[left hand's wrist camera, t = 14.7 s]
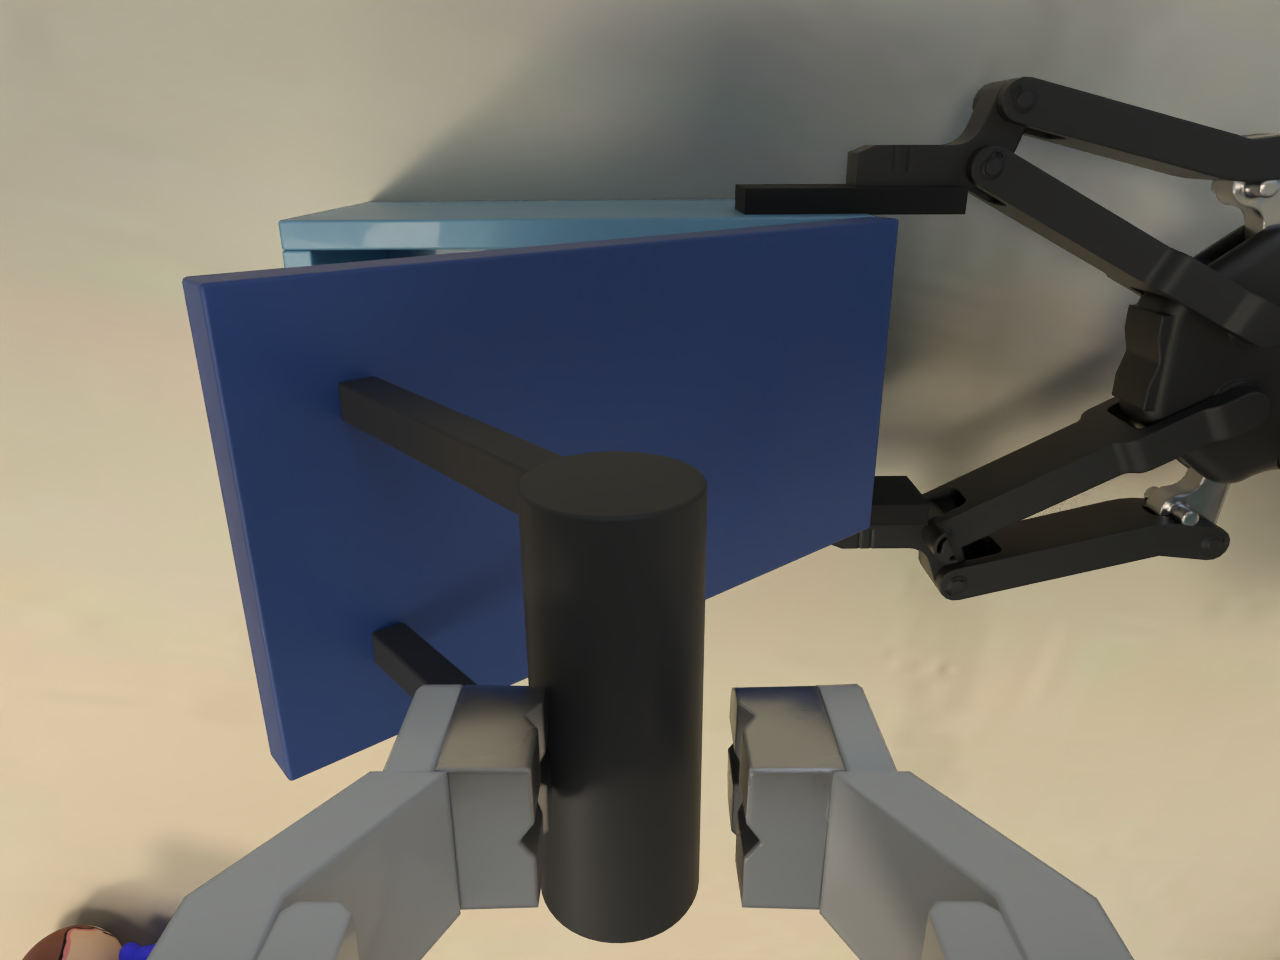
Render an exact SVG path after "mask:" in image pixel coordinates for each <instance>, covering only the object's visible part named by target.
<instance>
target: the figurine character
mask: <svg viewBox="0 0 1280 960" xmlns="http://www.w3.org/2000/svg"><path fill="white" fill-rule="evenodd" d="M155 945H156V944H151V945H146V946H140V945H139V944H138V943H135V942H129V943H126V944H125V945H123V946H121V944H120V943H119V941H118V940H117V939H116V938H115V937H114V936H113V935H112V934H111V933H109V932H108V931H106V930H104V929H102V928H100V927H96V926H91V925H76V926H70V927H66V928H63V929H60V930H58V931H56V932H54V933H52V934H50V935H48V936H47V937H45V938H44V939H42V940H41V941H40V942H38V943H37V944H36V945H35V946H34V947H33V948H32V949H31V950H30V951H29V952H28V953H27V954H26V956H25V957H24V958H23V960H146V959H147V958H148V956H149V954H150V953H151V951H152V949H153V948H154V946H155Z"/></svg>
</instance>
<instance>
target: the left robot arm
mask: <svg viewBox="0 0 1280 960" xmlns="http://www.w3.org/2000/svg"><path fill="white" fill-rule="evenodd" d="M730 724H731V731H732V738H733V744H732V745H731V746H730V748H729V749H728V803H729V814H730V822H731V831H732V832H733V833H734V834H736V859H735V861H736V868H737V874H738V881H739V888H740V895H741V902H742V907H749V908H784V909H820V914H821V915H822V916H823V918H824V919H825V920H826V921H827V922H828V923H829V925H830V926H831V927H832V928H833V929H834V930H835V931H836V933H837V934H838V935H839V936H840V937H841V938H842V940H843V941H844V942H845V943H846V944H847V945H848V946H849V948H850V949H851V950H852V951H853V952H854V953H855V955H856V956H857V957H858V958H859V959H860V960H1134V959H1133V957H1132V955H1131V954H1130V952H1129V951H1128V949H1127V947H1126V946H1125V944H1124V942H1123V941H1122V939H1121V937H1120V936H1119V934H1118V932H1117V931H1116V929H1115V927H1114V926H1113V924H1112V923H1111V921H1110V919H1109V918H1108V916H1107V914H1106V913H1105V911H1104V909H1103V908H1102V906H1101V904H1100V903H1099V901H1098V899H1097V898H1095V897H1094V896H1093V895H1091V894H1090V893H1088V892H1087V891H1085V890H1084V889H1082V888H1081V887H1079V886H1078V885H1076V884H1075V883H1073V882H1072V881H1070V880H1069V879H1067V878H1066V877H1065V876H1063V875H1062V874H1060V873H1059V872H1057V871H1056V870H1054V869H1053V868H1051V867H1050V866H1048V865H1047V864H1045V863H1044V862H1042V861H1041V860H1039V859H1038V858H1037V857H1035V856H1034V855H1032V854H1031V853H1029V852H1028V851H1026V850H1025V849H1023V848H1022V847H1020V846H1019V845H1017V844H1016V843H1014V842H1013V841H1011V840H1010V839H1009V838H1007V837H1006V836H1004V835H1003V834H1001V833H1000V832H998V831H997V830H995V829H994V828H992V827H991V826H989V825H988V824H986V823H985V822H983V821H982V820H981V819H979V818H978V817H976V816H975V815H973V814H972V813H970V812H969V811H967V810H966V809H964V808H963V807H961V806H960V805H958V804H957V803H955V802H954V801H953V800H951V799H950V798H948V797H947V796H945V795H944V794H942V793H941V792H939V791H938V790H936V789H935V788H933V787H932V786H930V785H929V784H927V783H926V782H925V781H923V780H922V779H920V778H919V777H917V776H916V775H914V774H913V773H911V772H900V771H897V769H896V767H895V764H894V762H893V760H892V757H891V755H890V753H889V750H888V748H887V745H886V743H885V741H884V738H883V736H882V734H881V731H880V729H879V726H878V724H877V722H876V719H875V717H874V715H873V712H872V710H871V707H870V705H869V703H868V700H867V698H866V696H865V693H864V691H863V689H862V687H860V686H859V685H857V684H842V685H816V686H793V687H743V688H732V692H731V700H730ZM549 725H550V718H549V701H548V687H547V686H500V685H465V686H463V685H461V684H455V685H422V686H421V687H420V688H418V689H417V691H416V693H415V695H414V697H413V700H412V702H411V705H410V707H409V709H408V712H407V714H406V717H405V719H404V721H403V724H402V726H401V729H400V731H399V733H398V736H397V738H396V741H395V743H394V745H393V748H392V750H391V753H390V755H389V757H388V760H387V762H386V765H385V767H384V769H383V771H380V772H369V773H367V774H366V775H365V776H363V777H362V778H360V779H359V780H357V781H356V782H354V783H353V784H351V785H350V786H348V787H347V788H345V789H344V790H342V791H341V792H339V793H338V794H336V795H335V796H333V797H332V798H330V799H329V800H328V801H326V802H325V803H323V804H322V805H320V806H319V807H317V808H316V809H314V810H313V811H311V812H310V813H308V814H307V815H305V816H304V817H302V818H301V819H299V820H298V821H296V822H295V823H293V824H292V825H291V826H289V827H288V828H286V829H285V830H283V831H282V832H280V833H279V834H277V835H276V836H274V837H273V838H271V839H270V840H268V841H267V842H265V843H264V844H262V845H261V846H259V847H258V848H256V849H255V850H254V851H252V852H251V853H249V854H248V855H246V856H245V857H243V858H242V859H240V860H239V861H237V862H236V863H234V864H233V865H231V866H230V867H228V868H227V869H225V870H224V871H222V872H221V873H219V874H218V875H217V876H215V877H214V878H212V879H211V880H209V881H208V882H206V883H205V884H203V885H202V886H200V887H199V888H197V889H196V890H194V891H193V892H191V893H190V894H188V895H187V896H185V897H184V899H183V901H182V902H181V904H180V905H179V907H178V909H177V910H176V912H175V914H174V915H173V917H172V919H171V920H170V922H169V923H168V925H167V927H166V928H165V930H164V932H163V933H162V935H161V936H160V938H159V940H158V941H157V943H156V945H155V946H154V948H153V949H152V951H151V953H150V954H149V956H148V958H147V959H146V960H421V959H422V958H423V956H424V955H425V954H426V953H427V952H428V951H429V950H430V948H431V947H432V946H433V945H434V944H435V943H436V941H437V940H438V939H439V938H440V937H441V936H442V935H443V933H444V932H445V931H446V930H447V929H448V928H449V927H450V925H451V924H452V923H453V922H454V921H455V920H456V919H457V917H458V916H459V915H460V909H495V908H529V907H538V904H539V897H540V890H541V883H542V876H543V869H544V861H545V856H544V835H545V834H546V833H547V832H548V831H549V823H550V815H551V802H552V763H551V753H550V751H549V749H548V747H547V739H548V732H549Z"/></svg>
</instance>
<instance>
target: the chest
mask: <svg viewBox="0 0 1280 960" xmlns="http://www.w3.org/2000/svg"><path fill="white" fill-rule="evenodd" d="M861 217H876V216H873V215H870V214H765V215H744V214H743V213H741V212H740V211H738V210H736V209H735V199H676V200H540V201H403V202H365V203H361V204H356V205H351V206H347V207H342V208H337V209H332V210H328V211H323V212H318V213H313V214H308V215H304V216H299V217H294V218H289V219H285V220H280V221H279V230H280V237H281V244H282V248H283V250H285V251H283V259H284V266H285V268H291V267H302V266H314V265H325V264H336V263H348V262H359V261H371V260H382V259H393V258H405V257H416V256H428V255H439V254H450V253H462V252H473V251H485V250H496V249H507V248H519V247H530V246H542V245H553V244H564V243H576V242H587V241H599V240H610V239H621V238H633V237H644V236H656V235H667V234H678V233H690V232H701V231H713V230H724V229H735V228H747V227H758V226H769V225H781V224H792V223H804V222H815V221H826V220H838V219H849V218H861Z"/></svg>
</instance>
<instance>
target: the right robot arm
mask: <svg viewBox="0 0 1280 960" xmlns="http://www.w3.org/2000/svg"><path fill="white" fill-rule="evenodd" d="M1022 135H1027V136H1030V137H1034V138H1038V139H1041V140H1045V141H1049V142H1052V143H1056V144H1059V145H1063V146H1067V147H1070V148H1074V149H1078V150H1081V151H1085V152H1089V153H1092V154H1096V155H1100V156H1103V157H1107V158H1111V159H1114V160H1118V161H1122V162H1125V163H1129V164H1132V165H1136V166H1140V167H1143V168H1147V169H1151V170H1154V171H1158V172H1162V173H1165V174H1169V175H1173V176H1178V177H1183V178H1191V179H1205V180H1213V181H1212V184H1211V189H1212V191H1213V192H1214V193H1215V194H1216V197H1217V199H1218V200H1219V201H1220V202H1221V203H1223V204H1224V205H1230V206H1235V207H1237V208H1239V209H1240V210H1241V211H1242V212H1243V214H1244V217H1245V225H1243V226H1241V227H1239V228H1237V229H1236V230H1234V231H1233V232H1231V233H1230V234H1228V235H1226V236H1225V237H1223V238H1222V239H1220V240H1219V241H1217V242H1216V243H1214V244H1213V245H1211V246H1209V247H1208V248H1206V249H1205V250H1203V251H1202V252H1200V253H1199V254H1197V255H1195V256H1194V257H1191V256H1189V255H1187V254H1185V253H1182V252H1180V251H1177V250H1174V249H1172V248H1170V247H1168V246H1167V245H1165V244H1163V243H1162V242H1160V241H1158V240H1157V239H1155V238H1153V237H1152V236H1150V235H1148V234H1147V233H1145V232H1143V231H1142V230H1140V229H1139V228H1137V227H1135V226H1134V225H1132V224H1130V223H1129V222H1127V221H1125V220H1124V219H1122V218H1120V217H1119V216H1117V215H1115V214H1114V213H1112V212H1110V211H1109V210H1107V209H1105V208H1104V207H1102V206H1100V205H1099V204H1097V203H1095V202H1094V201H1092V200H1090V199H1089V198H1087V197H1085V196H1084V195H1082V194H1080V193H1079V192H1077V191H1075V190H1074V189H1072V188H1070V187H1069V186H1067V185H1065V184H1064V183H1062V182H1061V181H1059V180H1057V179H1056V178H1054V177H1052V176H1051V175H1049V174H1047V173H1046V172H1044V171H1042V170H1041V169H1039V168H1037V167H1036V166H1034V165H1032V164H1031V163H1029V162H1027V161H1026V160H1024V159H1022V158H1021V157H1019V156H1017V155H1016V154H1014V152H1015V150H1016V148H1017V146H1018V144H1019V141H1020V139H1021V137H1022ZM968 193H970V194H972V195H973V196H975V197H977V198H978V199H980V200H982V201H984V202H985V203H987V204H989V205H990V206H992V207H994V208H995V209H997V210H999V211H1001V212H1002V213H1004V214H1006V215H1007V216H1009V217H1011V218H1012V219H1014V220H1016V221H1018V222H1019V223H1021V224H1023V225H1024V226H1026V227H1028V228H1030V229H1031V230H1033V231H1035V232H1036V233H1038V234H1040V235H1041V236H1043V237H1045V238H1047V239H1048V240H1050V241H1052V242H1053V243H1055V244H1057V245H1058V246H1060V247H1062V248H1064V249H1065V250H1067V251H1069V252H1070V253H1072V254H1074V255H1076V256H1077V257H1079V258H1081V259H1082V260H1084V261H1086V262H1087V263H1089V264H1091V265H1093V266H1094V267H1096V268H1098V269H1099V270H1101V271H1103V272H1104V273H1106V274H1107V276H1108V277H1109V278H1111V279H1112V280H1114V281H1116V282H1117V283H1119V284H1121V285H1123V286H1124V287H1126V288H1128V289H1129V290H1131V291H1133V292H1135V293H1136V294H1138V295H1140V296H1141V298H1140V299H1139V301H1138V303H1137V305H1129V307H1128V312H1127V318H1126V323H1125V338H1126V353H1125V355H1124V357H1123V359H1122V361H1121V363H1120V366H1119V368H1118V370H1117V372H1116V375H1115V381H1114V386H1113V391H1112V395H1113V396H1115V397H1114V398H1112V399H1110V400H1107V401H1105V402H1103V403H1101V404H1099V405H1097V406H1095V407H1093V408H1090V409H1088V410H1087V411H1085V412H1084V413H1083V414H1082V415H1081V418H1080V420H1079V421H1078V422H1076V423H1074V424H1072V425H1070V426H1067V427H1065V428H1063V429H1061V430H1059V431H1057V432H1055V433H1053V434H1050V435H1048V436H1046V437H1044V438H1042V439H1040V440H1038V441H1035V442H1033V443H1031V444H1029V445H1027V446H1025V447H1023V448H1021V449H1018V450H1016V451H1014V452H1012V453H1010V454H1008V455H1006V456H1003V457H1001V458H999V459H997V460H995V461H993V462H991V463H989V464H986V465H984V466H982V467H980V468H978V469H976V470H974V471H971V472H969V473H967V474H965V475H963V476H961V477H959V478H957V479H954V480H952V481H950V482H948V483H946V484H944V485H942V486H939V487H937V488H935V489H933V490H931V491H929V492H927V493H925V494H921V493H920V492H919V490H918V489H917V488H916V487H915V486H914V484H913V483H912V482H911V481H910V480H909V478H908V477H907V476H874V487H873V498H872V508H871V519H870V527H869V528H868V529H866V530H863V531H861V532H859V533H856V534H854V535H852V536H850V537H847V538H845V539H843V540H840V541H838V542H836V543H834V544H831V545H834V546H837V547H839V548H842V549H843V548H913V549H917V550H919V561H920V563H921V565H922V566H923V568H924V569H925V571H926V572H927V574H928V575H929V577H930V578H931V580H932V581H933V582H934V584H935V585H936V587H937V588H938V590H939V591H940V593H941V594H942V595H943V596H944V597H945V598H947V599H950V600H961V599H965V598H970V597H974V596H979V595H983V594H988V593H992V592H997V591H1001V590H1006V589H1011V588H1015V587H1020V586H1024V585H1029V584H1033V583H1038V582H1042V581H1047V580H1051V579H1056V578H1060V577H1065V576H1069V575H1074V574H1078V573H1083V572H1087V571H1092V570H1096V569H1101V568H1105V567H1110V566H1114V565H1119V564H1123V563H1128V562H1132V561H1137V560H1142V559H1146V558H1151V557H1155V556H1168V557H1179V558H1190V559H1201V560H1211V559H1215V558H1217V557H1220V556H1221V555H1222V554H1223V553H1224V552H1226V550H1227V548H1228V547H1229V543H1230V538H1229V535H1228V533H1227V532H1226V531H1225V530H1223V529H1222V528H1220V527H1219V526H1217V525H1216V522H1217V519H1218V516H1219V513H1220V511H1221V508H1222V505H1223V502H1224V500H1225V497H1226V494H1227V491H1228V488H1229V486H1230V483H1235V482H1239V481H1242V480H1244V479H1247V478H1249V477H1251V476H1253V475H1255V474H1258V473H1260V472H1263V471H1267V470H1272V469H1280V133H1274V134H1273V133H1272V134H1252V135H1243V136H1240V135H1236V134H1233V133H1229V132H1226V131H1222V130H1218V129H1215V128H1211V127H1208V126H1204V125H1201V124H1197V123H1194V122H1190V121H1186V120H1183V119H1179V118H1176V117H1172V116H1169V115H1165V114H1161V113H1158V112H1154V111H1151V110H1147V109H1144V108H1140V107H1136V106H1133V105H1129V104H1126V103H1122V102H1119V101H1115V100H1112V99H1108V98H1104V97H1101V96H1097V95H1094V94H1090V93H1087V92H1083V91H1079V90H1076V89H1072V88H1069V87H1065V86H1062V85H1058V84H1054V83H1051V82H1047V81H1044V80H1040V79H1037V78H1033V77H1021V78H1015V79H1010V80H1004V81H998V82H993V83H990V84H987V85H984V86H983V87H982V88H981V89H980V90H979V91H978V92H977V94H976V96H975V97H974V100H973V113H972V116H971V118H970V120H969V122H968V124H967V127H966V128H965V130H964V132H963V133H962V134H961V135H960V136H959V137H958V138H957V139H956V140H954V141H953V142H951V143H948V144H944V145H865V146H862V147H860V148H857V149H855V150H853V151H850V152H848V161H847V175H846V184H743V185H736V191H735V209H736V210H738V211H740V212H741V213H743V214H744V215H765V214H870V215H885V214H965V211H966V203H967V195H968ZM1175 459H1177V460H1178V461H1179V462H1180V463H1182V464H1183V465H1184V466H1185V467H1187V468H1188V470H1187V472H1186V474H1185V476H1184V477H1183V478H1182V479H1181V480H1180V481H1179V482H1177V483H1175V484H1173V485H1168V486H1162V487H1159V488H1158V487H1150V488H1149V489H1147V490H1146V492H1145V494H1144V498H1124V499H1116V500H1110V501H1105V502H1101V503H1096V504H1092V505H1087V506H1083V507H1079V508H1074V509H1070V510H1065V511H1061V512H1057V513H1052V514H1048V515H1043V516H1039V517H1035V518H1030V519H1026V520H1023V519H1025V518H1027V517H1029V516H1032V515H1034V514H1036V513H1038V512H1040V511H1043V510H1045V509H1047V508H1049V507H1051V506H1054V505H1056V504H1058V503H1060V502H1062V501H1065V500H1067V499H1069V498H1071V497H1073V496H1075V495H1078V494H1080V493H1082V492H1084V491H1086V490H1089V489H1091V488H1093V487H1095V486H1097V485H1100V484H1102V483H1104V482H1106V481H1108V480H1111V479H1113V478H1115V477H1117V476H1119V475H1122V474H1125V473H1143V472H1147V471H1150V470H1153V469H1155V468H1157V467H1159V466H1161V465H1164V464H1166V463H1168V462H1170V461H1172V460H1175Z"/></svg>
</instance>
